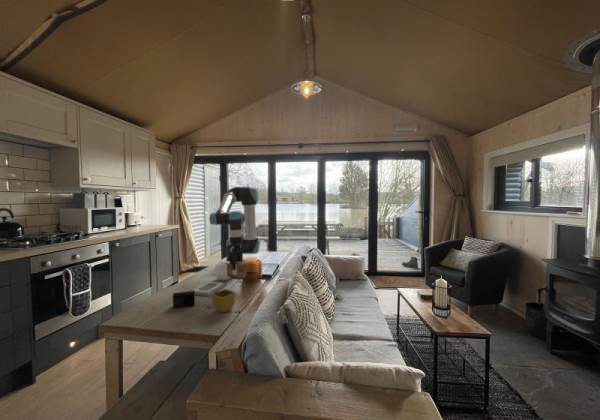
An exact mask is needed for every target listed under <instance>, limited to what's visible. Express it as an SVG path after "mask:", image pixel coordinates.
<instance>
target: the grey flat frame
mask: <svg viewBox="0 0 600 420" xmlns="http://www.w3.org/2000/svg"><path fill="white" fill-rule="evenodd" d="M227 286H228V284H227V283H224V282H216V281H207V282H206V283H204V284H202V285H200V286H198V287H196V288H195V289H193V290H192V291H194V293H195V296H198V297H199V296H200V297H212V294H213V293H216V292H219V291H221V290H223V289H224V288H225V287H227Z"/></svg>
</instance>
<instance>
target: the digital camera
mask: <svg viewBox="0 0 600 420" xmlns="http://www.w3.org/2000/svg"><path fill="white" fill-rule="evenodd" d="M195 296H196V295H195V293H194V291H193V290H191V291H181V292H179V291H178V292H174V293H173V295H172V304H173V305H172V306H173V309H181V308H189V307H195V304H196V298H195Z"/></svg>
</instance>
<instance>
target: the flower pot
mask: <svg viewBox="0 0 600 420" xmlns="http://www.w3.org/2000/svg"><path fill="white" fill-rule="evenodd" d="M236 294H237V293H236V291H232V290H229V289H226V288H225V289H224V288H223V289H220V290H219V291H217V292H216V293H213V294H212V295H211V299H212V304H213V306H214V307H215V310H217V312H220V313H222V314H223V313H226V312H228V311H231V310H232V309H233V308H234V305H235V301H236Z"/></svg>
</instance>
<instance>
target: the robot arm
mask: <svg viewBox="0 0 600 420" xmlns="http://www.w3.org/2000/svg"><path fill="white" fill-rule="evenodd" d="M259 200H260V199H259V192H258V189H257V187H255V186H235V187H232V188H230V189H228V190H227V191H226V192H224V195H223V196H222V201H221V203H220V205H219V207H218V208H217V210H216V212H213V213H212V212H211V213H210V214H209V224H210V225H212V226H215V225H216V226H223V225H224V226H225V225H228V226H229V231H228V232H229V239H227V240H226V244H225V246H226V259H225V261H228V262H230V264H232V269H233V275H237V264H236V262H237V263H241V262H242V261H243V262H244V255H245V254H246V255H257V254H258V253H259V251H260V246H261V239H260V238H259V237H258V235H257V230H256V229H257V228H256V205H257V204H258V203H259ZM235 203H241V205H242V206H243V212H242V211H241V210H232V211H231V209H232V206H233V204H235ZM243 224H244V236H243Z"/></svg>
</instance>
